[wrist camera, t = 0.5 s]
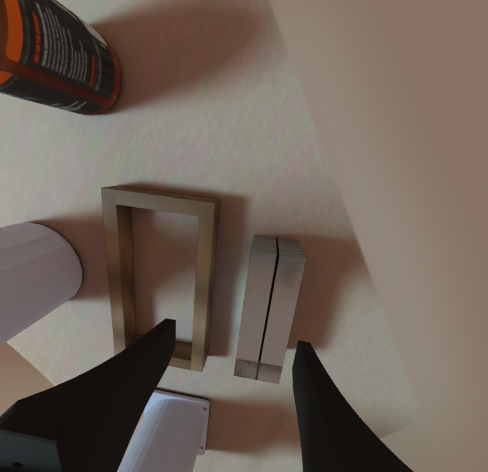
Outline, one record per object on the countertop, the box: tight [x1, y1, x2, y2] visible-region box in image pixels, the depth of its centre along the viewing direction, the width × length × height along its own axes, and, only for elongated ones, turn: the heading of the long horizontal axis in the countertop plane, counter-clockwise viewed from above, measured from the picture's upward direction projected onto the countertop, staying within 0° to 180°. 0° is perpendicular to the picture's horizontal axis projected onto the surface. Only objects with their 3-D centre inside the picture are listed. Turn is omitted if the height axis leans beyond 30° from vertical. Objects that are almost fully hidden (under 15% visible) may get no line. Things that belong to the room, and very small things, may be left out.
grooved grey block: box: [234, 235, 306, 384], centre depth 20 cm, size 12×4×4 cm, turn 173°
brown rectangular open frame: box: [101, 186, 220, 372], centre depth 21 cm, size 17×9×2 cm, turn 173°
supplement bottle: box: [0, 0, 121, 115], centre depth 12 cm, size 6×6×11 cm
